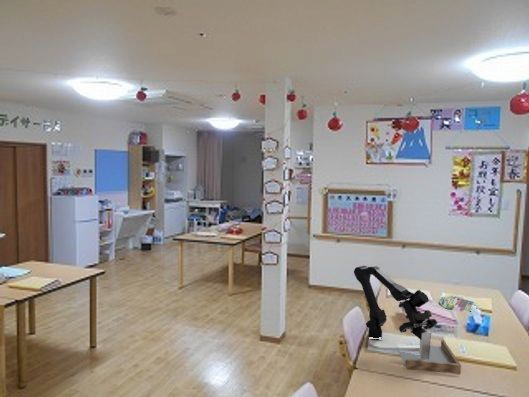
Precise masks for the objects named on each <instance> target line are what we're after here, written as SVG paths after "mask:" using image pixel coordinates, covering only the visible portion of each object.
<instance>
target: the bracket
mask: <svg viewBox="0 0 529 397" xmlns="http://www.w3.org/2000/svg"><path fill="white" fill-rule="evenodd" d="M421 331H422V338H421V340H420V339H419V345H420V348H419V353H420V360H425V359H429V353H430V346H431V338H432V337H431V336H432V332H431V331H430V330H429V329H427V330H426V329H425V328H423V327H421Z"/></svg>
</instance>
